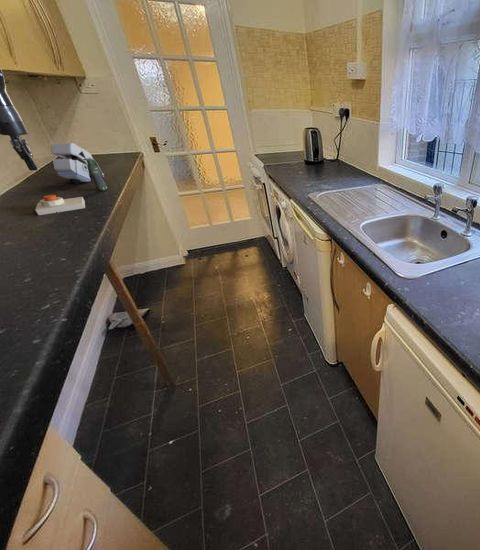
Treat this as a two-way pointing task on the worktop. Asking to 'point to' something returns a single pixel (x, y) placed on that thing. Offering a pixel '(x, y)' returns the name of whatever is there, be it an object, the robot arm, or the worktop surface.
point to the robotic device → (71, 162)
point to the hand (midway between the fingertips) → (33, 170)
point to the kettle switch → (50, 197)
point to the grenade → (96, 174)
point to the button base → (59, 205)
